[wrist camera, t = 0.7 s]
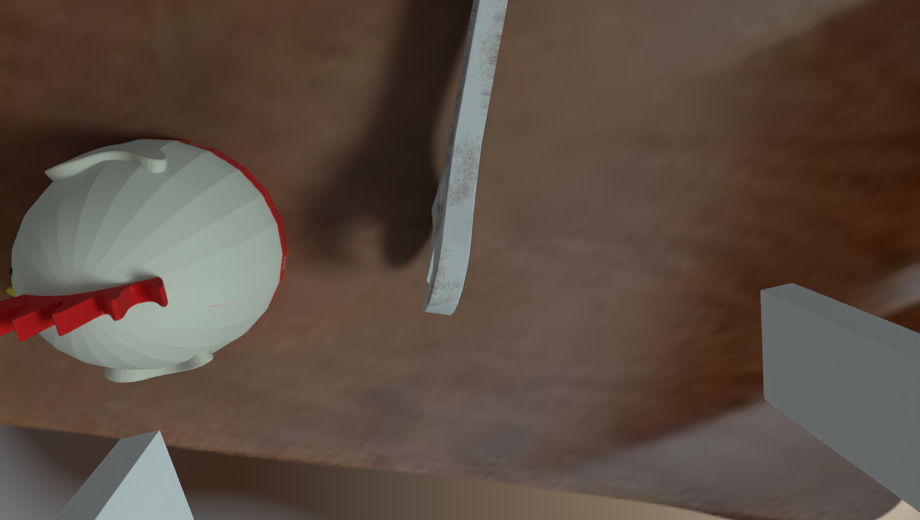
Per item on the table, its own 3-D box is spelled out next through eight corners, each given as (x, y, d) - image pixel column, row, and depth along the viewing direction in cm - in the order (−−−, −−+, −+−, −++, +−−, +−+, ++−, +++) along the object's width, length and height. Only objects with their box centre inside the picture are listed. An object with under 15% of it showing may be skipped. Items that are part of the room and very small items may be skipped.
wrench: (520, -149, 35) (440, 297, 38) (494, -157, 35) (414, 293, 38) (563, -246, 28) (458, 325, 30) (529, -258, 27) (426, 320, 30)
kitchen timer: (33, 150, 33) (-239, 168, 19) (264, 127, 34) (178, 126, 20) (94, 359, 37) (-95, 511, 22) (302, 330, 38) (252, 454, 24)
